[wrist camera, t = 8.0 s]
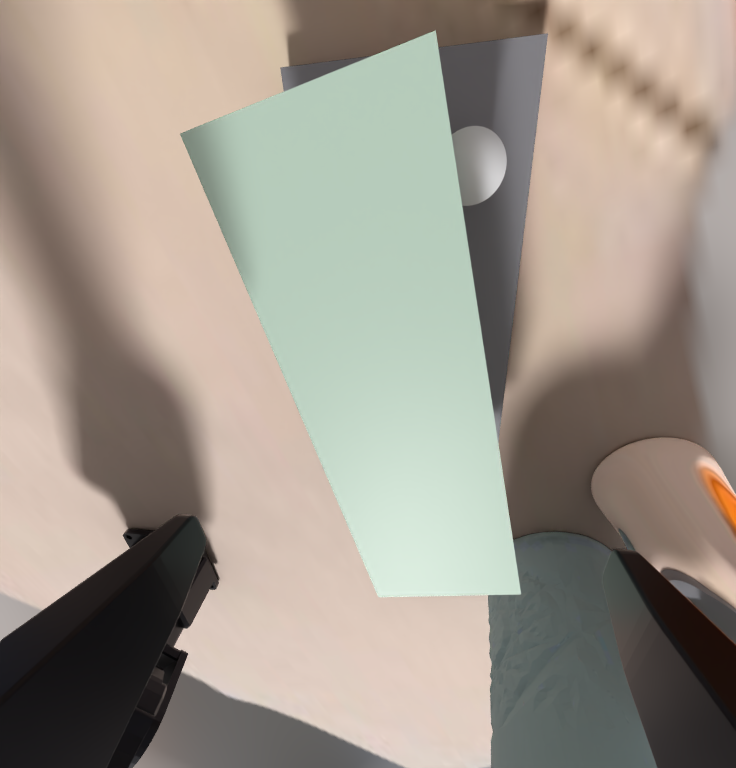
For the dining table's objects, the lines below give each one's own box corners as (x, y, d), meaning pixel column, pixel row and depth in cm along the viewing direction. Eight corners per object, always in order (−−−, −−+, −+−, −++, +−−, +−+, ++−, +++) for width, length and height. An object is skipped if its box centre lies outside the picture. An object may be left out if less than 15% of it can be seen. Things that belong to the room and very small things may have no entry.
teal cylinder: (654, 596, 26) (795, 879, 16) (513, 627, 30) (554, 867, 20) (592, 501, 23) (719, 780, 13) (444, 551, 27) (449, 791, 17)
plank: (386, 540, 20) (378, 597, 17) (236, 138, 12) (180, 134, 9) (509, 532, 18) (521, 594, 16) (435, 62, 10) (435, 30, 7)
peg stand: (344, 482, 25) (326, 548, 21) (289, 72, 15) (229, 38, 10) (488, 490, 24) (500, 564, 19) (540, 41, 13) (590, -15, 9)
